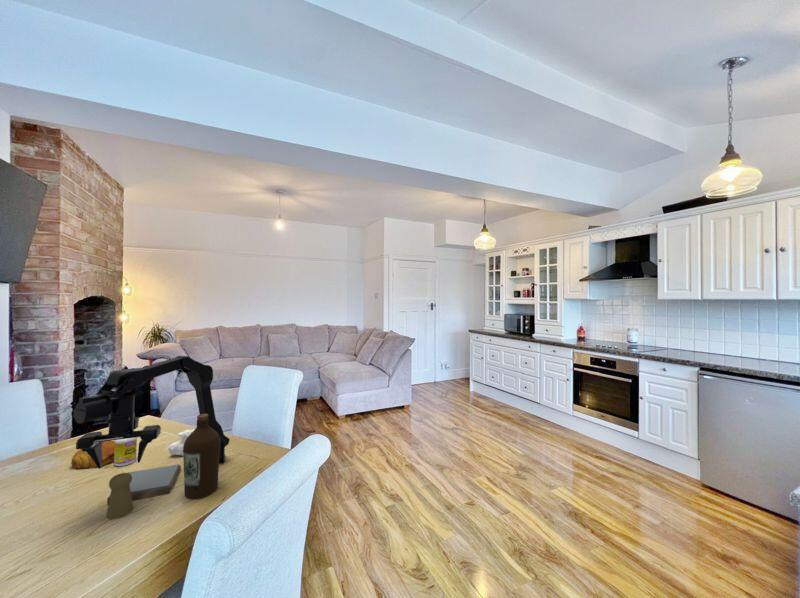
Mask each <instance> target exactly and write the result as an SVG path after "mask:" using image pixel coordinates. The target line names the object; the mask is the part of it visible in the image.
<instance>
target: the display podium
mask: <svg viewBox="0 0 800 598" xmlns="http://www.w3.org/2000/svg"><path fill="white" fill-rule="evenodd" d="M181 467H182V465H181V464H173V465H166V466H165V465H164V466H158V467H155V468H154V467H153V468H148V469H141V470H136V471H135V470H134V471H129V472H127V473H130V474H131V476H132V481H131V483H130V491H131V497H132V501H135V500H140V499H146V498H152V497H157V496H162V495H169V494H170V493H171V491H172V489H173V487H174V485H175V482H176V480H177V478H178V477H179V475H180V473H181V470H182V468H181ZM109 499H110V495H109V496H108V497H107V501H106V502H107V504H106V505H107V506H108V505H109Z"/></svg>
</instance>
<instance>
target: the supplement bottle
mask: <svg viewBox="0 0 800 598" xmlns="http://www.w3.org/2000/svg"><path fill="white" fill-rule="evenodd" d="M133 431H135V430H133ZM114 441H115V449H114V462H113V464H114V466H116V467H124V466H128V465H131V464H133V463H136V461H137V452H138V451H137V450H138V449H137V447H138V446H137V444H138V443H137V442H138V437H135V438H127V439H119V440H114Z"/></svg>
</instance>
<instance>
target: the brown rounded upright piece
mask: <svg viewBox="0 0 800 598" xmlns="http://www.w3.org/2000/svg"><path fill="white" fill-rule="evenodd" d="M131 481H132V476H131V474H130V473H128V472H122V473H119V474H116V475H114V476H112V477H111V478H110V480H109V482H108V486H109V488H110V495H109V496H110V499H109V505H107V511H106V516H105V517H106V519H108V520H116V519H115V518H117V519H120V518H122V516H123V517H125V516H127V515H129V514H130V513H132V512H133V510H134V505H133V500H132V497H131V491H130V483H131ZM119 517H120V518H119Z"/></svg>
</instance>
